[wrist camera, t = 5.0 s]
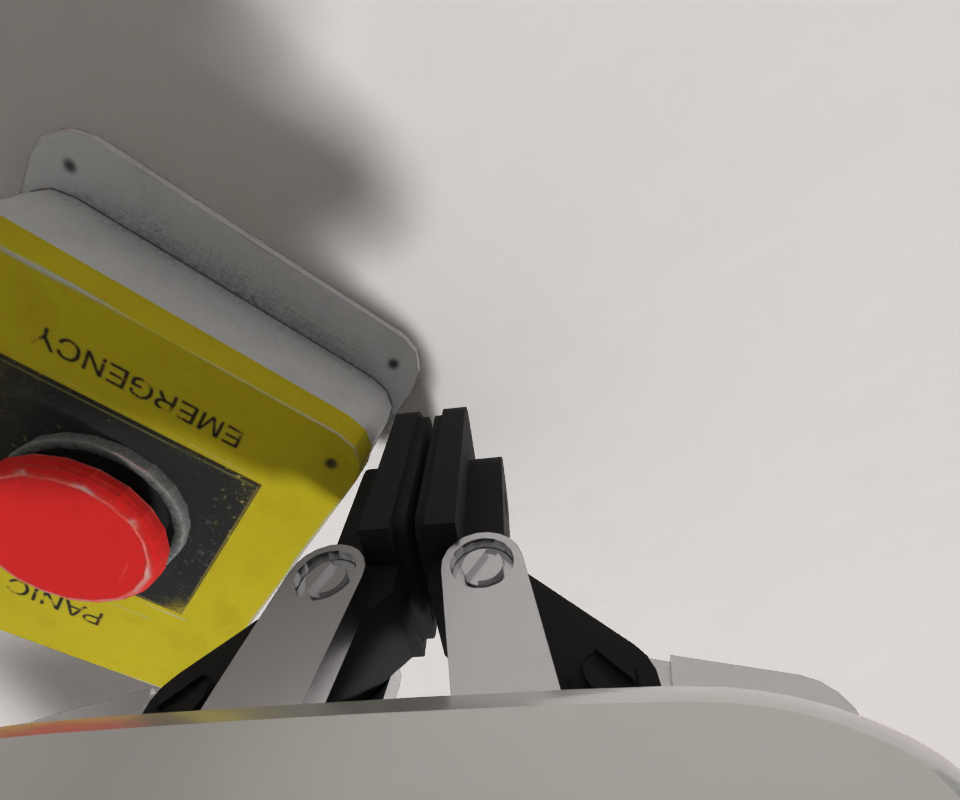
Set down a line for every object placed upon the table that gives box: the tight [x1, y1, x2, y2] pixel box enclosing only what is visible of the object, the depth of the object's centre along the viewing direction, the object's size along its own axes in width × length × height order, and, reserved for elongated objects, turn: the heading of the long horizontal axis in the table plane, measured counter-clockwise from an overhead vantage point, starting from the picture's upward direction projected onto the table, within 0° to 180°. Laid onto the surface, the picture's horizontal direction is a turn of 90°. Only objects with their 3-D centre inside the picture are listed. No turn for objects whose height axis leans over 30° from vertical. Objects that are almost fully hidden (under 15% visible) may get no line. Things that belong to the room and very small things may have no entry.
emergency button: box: [0, 128, 421, 688], centre depth 12 cm, size 9×4×15 cm
